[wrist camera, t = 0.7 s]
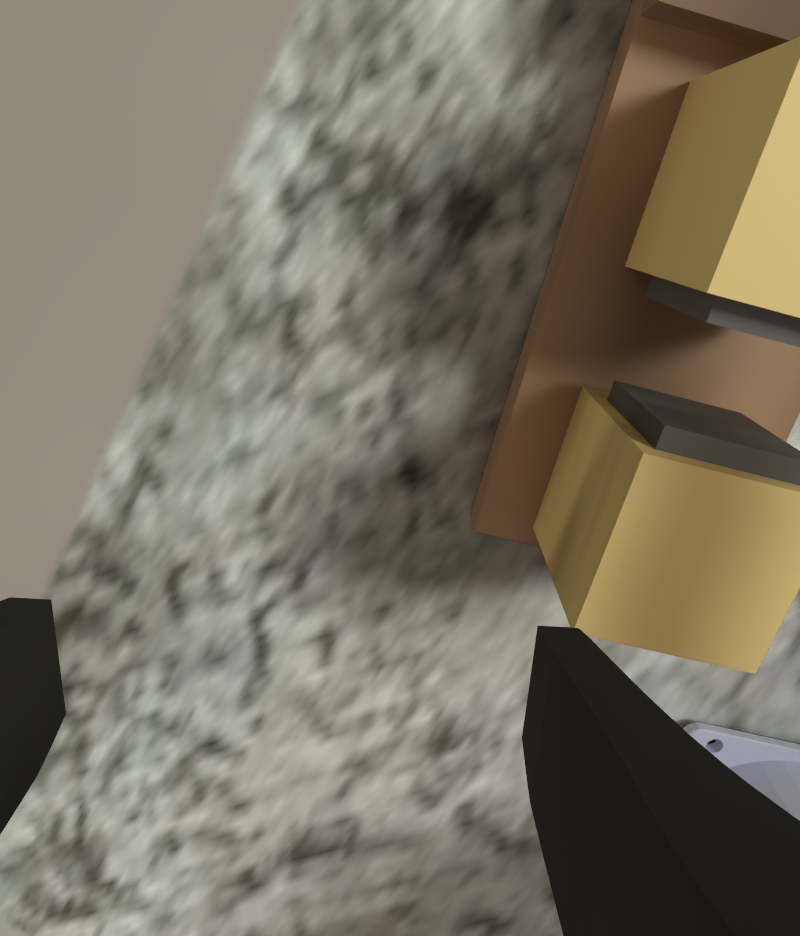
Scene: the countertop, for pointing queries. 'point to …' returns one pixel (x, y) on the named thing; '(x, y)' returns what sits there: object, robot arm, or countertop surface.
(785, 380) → the brown wooden tray
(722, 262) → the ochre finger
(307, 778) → the countertop surface
